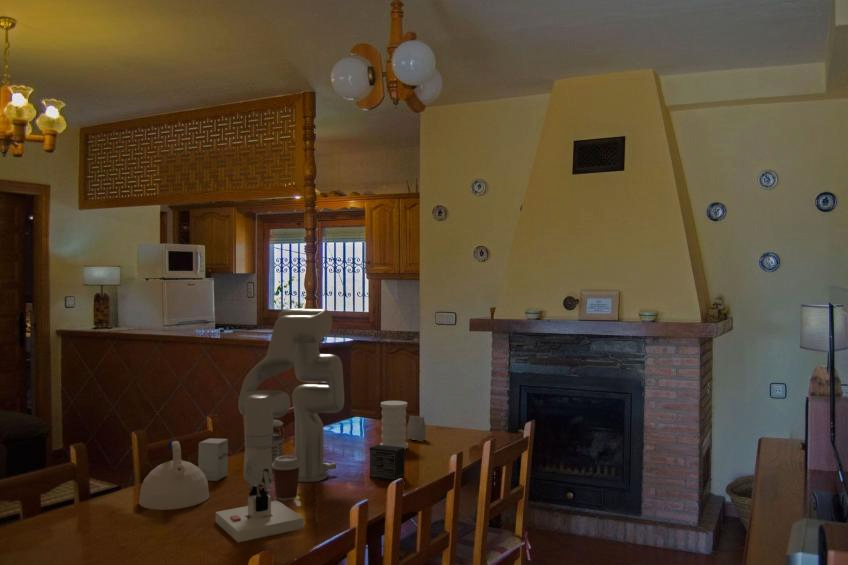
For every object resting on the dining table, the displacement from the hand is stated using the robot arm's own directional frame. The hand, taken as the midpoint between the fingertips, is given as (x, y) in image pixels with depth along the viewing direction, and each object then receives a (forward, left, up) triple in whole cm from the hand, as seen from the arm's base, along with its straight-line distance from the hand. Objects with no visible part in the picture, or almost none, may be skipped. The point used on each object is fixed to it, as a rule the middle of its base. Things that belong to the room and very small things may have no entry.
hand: (258, 507), depth 185 cm
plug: (0, 0, -5) cm, 5 cm away
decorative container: (-78, -56, -5) cm, 96 cm away
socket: (0, 0, -5) cm, 5 cm away
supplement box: (-4, -53, -5) cm, 53 cm away
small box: (-53, -20, -5) cm, 57 cm away
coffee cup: (-16, -19, -5) cm, 26 cm away
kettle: (+13, -36, -5) cm, 39 cm away
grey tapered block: (-93, -62, -5) cm, 112 cm away
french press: (-30, -64, -5) cm, 71 cm away
